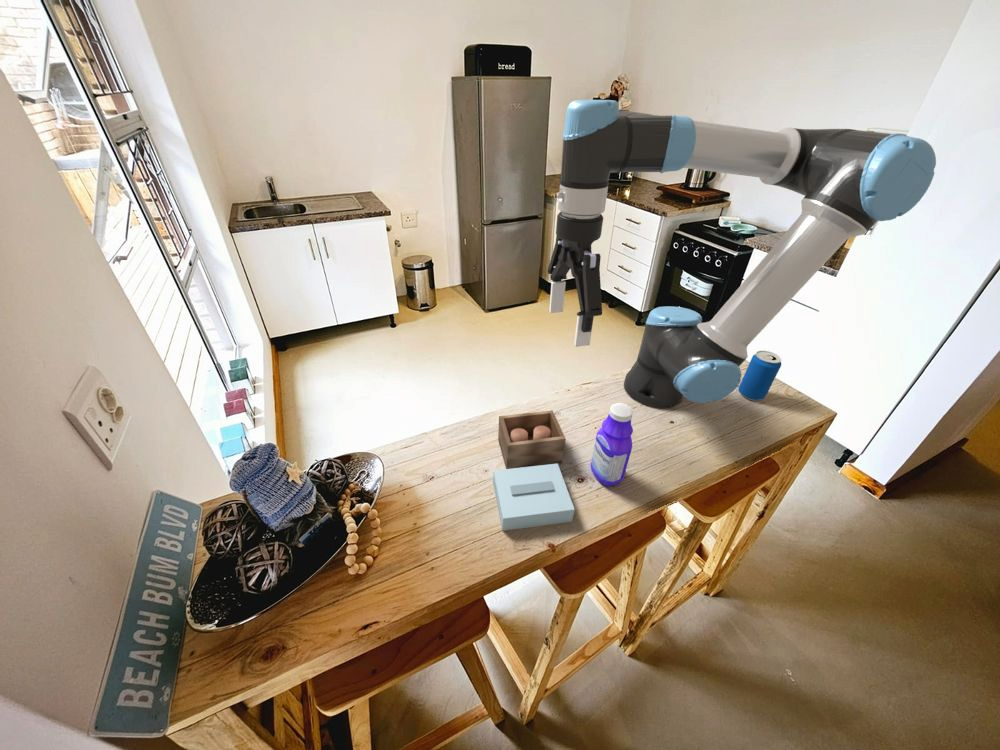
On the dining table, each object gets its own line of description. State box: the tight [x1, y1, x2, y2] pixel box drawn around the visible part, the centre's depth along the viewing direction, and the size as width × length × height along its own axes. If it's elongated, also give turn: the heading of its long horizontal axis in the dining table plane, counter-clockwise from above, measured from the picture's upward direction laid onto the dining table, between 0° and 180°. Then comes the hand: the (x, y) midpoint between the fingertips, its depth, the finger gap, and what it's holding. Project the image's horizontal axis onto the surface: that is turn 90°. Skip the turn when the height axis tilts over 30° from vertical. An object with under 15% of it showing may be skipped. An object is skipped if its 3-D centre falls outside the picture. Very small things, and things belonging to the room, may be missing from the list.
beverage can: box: [737, 350, 782, 402], centre depth 106 cm, size 6×6×12 cm
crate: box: [497, 410, 567, 469], centre depth 88 cm, size 12×9×7 cm
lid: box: [492, 463, 576, 532], centre depth 78 cm, size 13×11×4 cm
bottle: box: [590, 402, 634, 487], centre depth 80 cm, size 7×6×17 cm
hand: (567, 327), depth 80 cm, fingers open, 13 cm apart
